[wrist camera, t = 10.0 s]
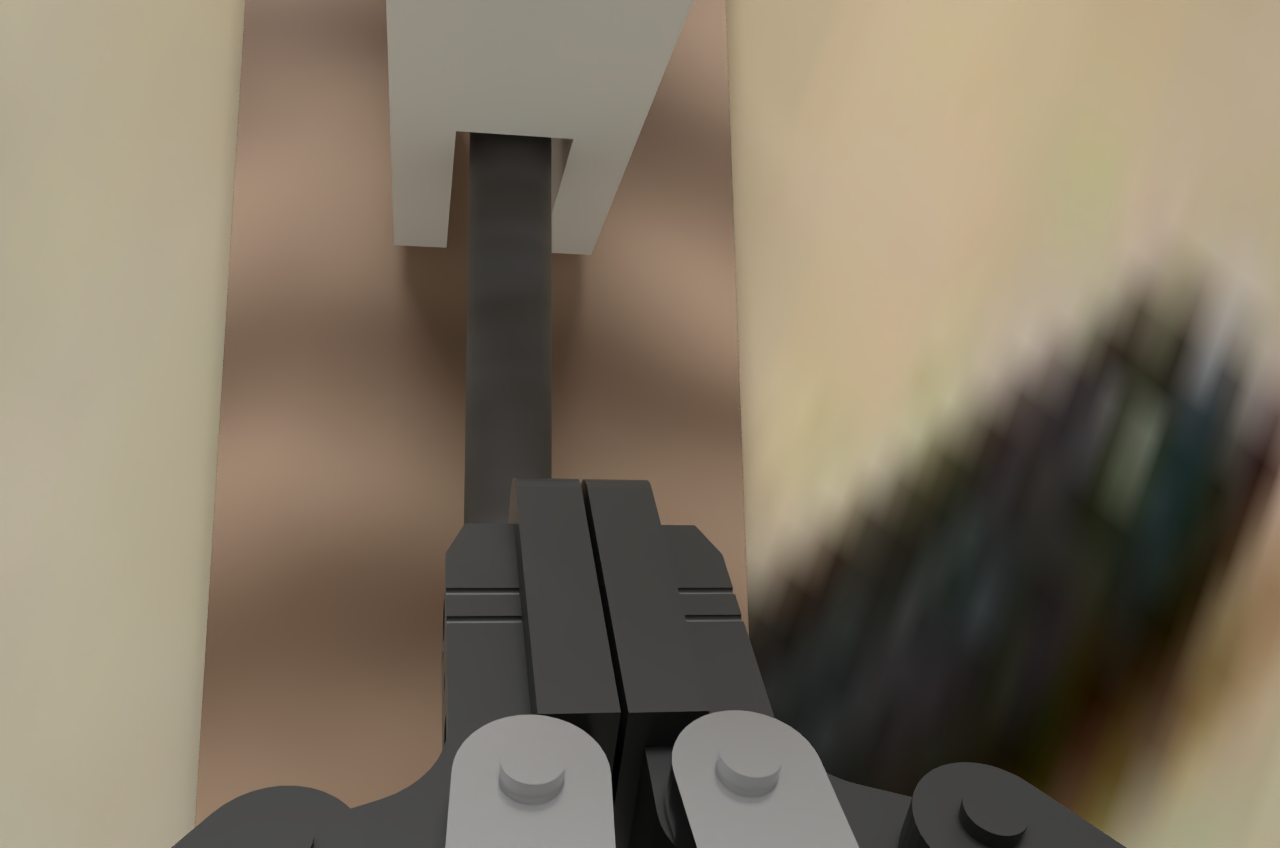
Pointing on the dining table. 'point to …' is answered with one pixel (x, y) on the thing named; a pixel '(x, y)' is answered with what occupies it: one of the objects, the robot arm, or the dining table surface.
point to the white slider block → (522, 98)
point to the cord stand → (436, 387)
